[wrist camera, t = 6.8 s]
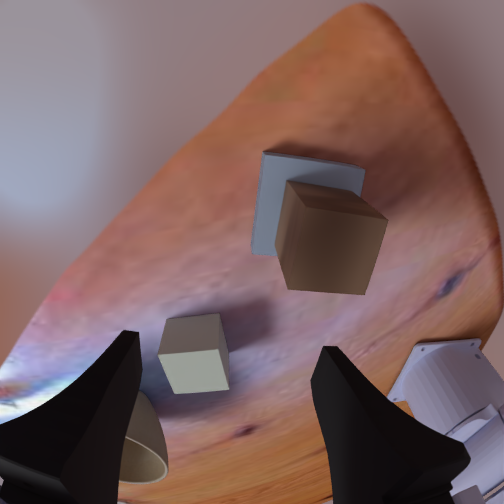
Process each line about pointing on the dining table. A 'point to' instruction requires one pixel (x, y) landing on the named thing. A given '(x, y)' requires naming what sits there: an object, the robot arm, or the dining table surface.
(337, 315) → the dining table surface
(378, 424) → the robot arm
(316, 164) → the slate slab
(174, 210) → the dining table surface
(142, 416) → the flower pot
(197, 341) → the sage block
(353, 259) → the walnut block
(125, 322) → the dining table surface
